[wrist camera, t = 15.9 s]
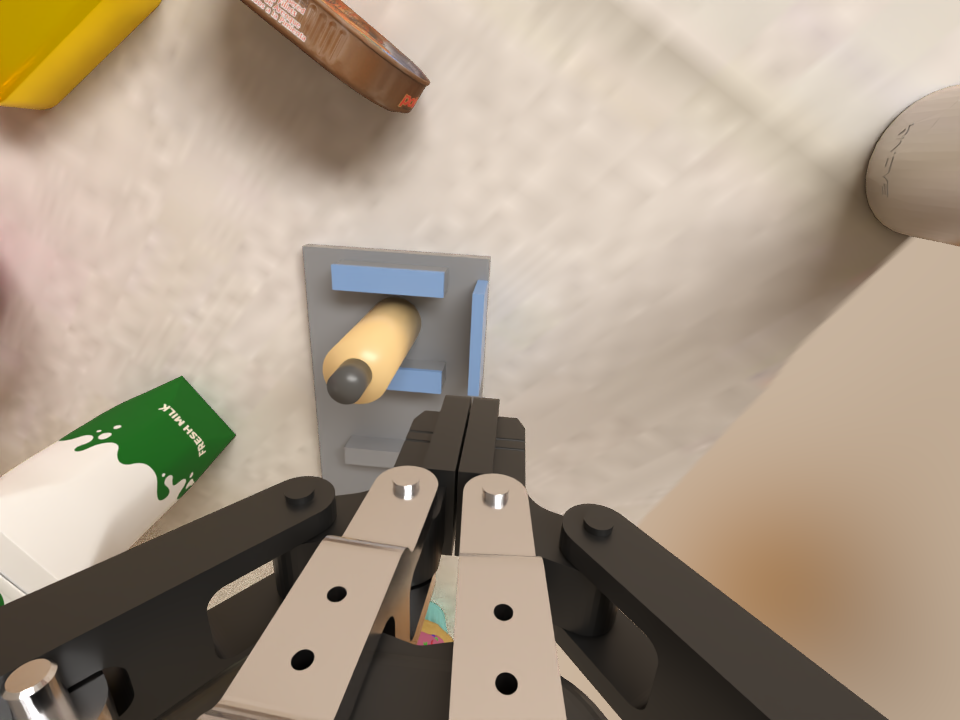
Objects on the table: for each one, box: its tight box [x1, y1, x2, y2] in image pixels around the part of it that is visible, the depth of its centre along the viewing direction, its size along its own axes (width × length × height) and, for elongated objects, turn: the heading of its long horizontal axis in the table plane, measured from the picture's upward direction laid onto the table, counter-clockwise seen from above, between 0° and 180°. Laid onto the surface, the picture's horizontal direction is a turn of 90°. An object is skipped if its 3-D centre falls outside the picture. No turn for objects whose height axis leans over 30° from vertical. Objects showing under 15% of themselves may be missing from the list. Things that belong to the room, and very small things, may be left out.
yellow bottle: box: [323, 297, 421, 405], centre depth 33 cm, size 4×4×12 cm
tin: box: [241, 0, 430, 113], centre depth 28 cm, size 15×3×8 cm, turn 52°
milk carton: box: [0, 376, 236, 606], centre depth 36 cm, size 9×9×20 cm
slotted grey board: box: [303, 244, 491, 535], centre depth 40 cm, size 14×26×5 cm, turn 177°
